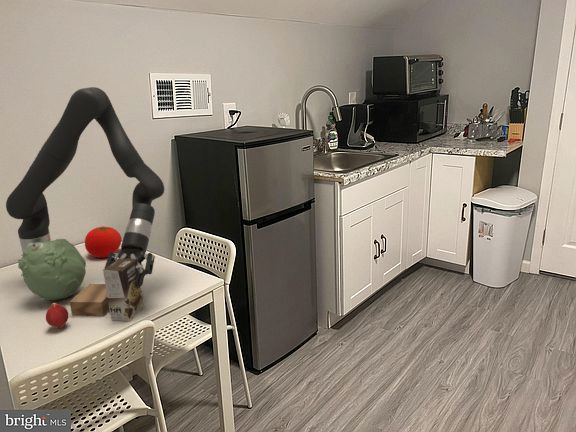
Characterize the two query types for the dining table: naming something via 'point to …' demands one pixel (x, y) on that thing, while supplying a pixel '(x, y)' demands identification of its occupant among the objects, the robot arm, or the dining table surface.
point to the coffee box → (123, 289)
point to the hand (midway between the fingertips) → (123, 286)
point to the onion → (57, 315)
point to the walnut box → (90, 301)
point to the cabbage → (52, 269)
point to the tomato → (102, 241)
